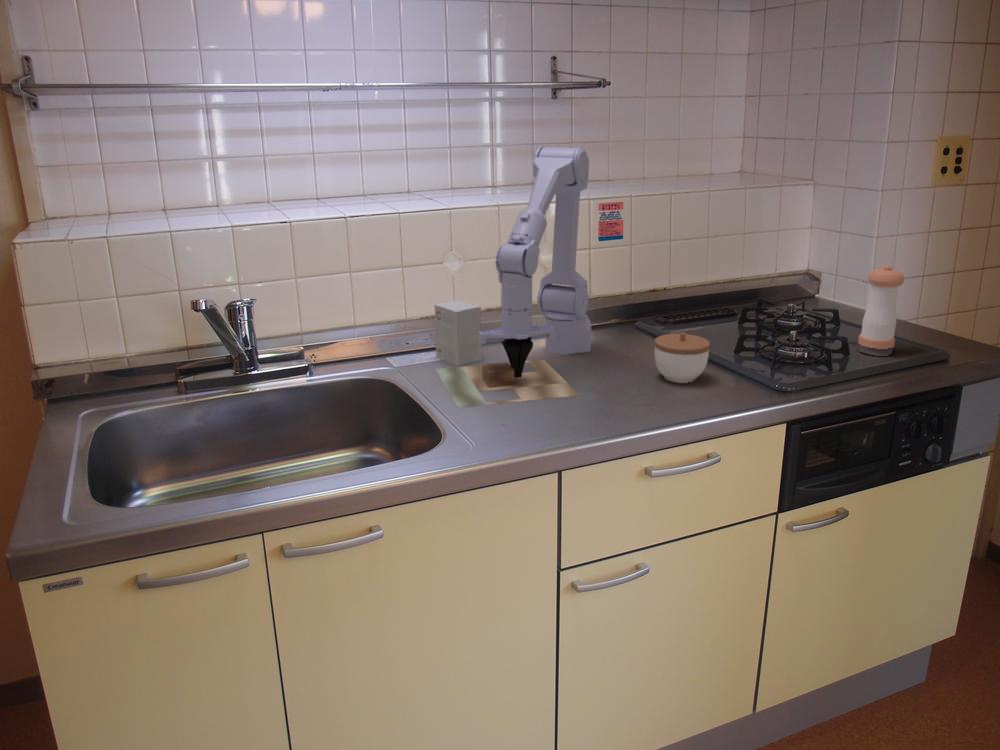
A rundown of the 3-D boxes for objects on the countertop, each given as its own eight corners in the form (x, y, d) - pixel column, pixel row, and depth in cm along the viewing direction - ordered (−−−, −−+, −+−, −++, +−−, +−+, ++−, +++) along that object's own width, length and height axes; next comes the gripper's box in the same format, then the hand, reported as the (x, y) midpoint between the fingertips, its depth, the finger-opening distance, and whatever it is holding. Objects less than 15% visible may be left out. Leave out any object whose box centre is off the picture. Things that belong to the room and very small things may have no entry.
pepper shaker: (898, 357, 176) (913, 269, 169) (864, 357, 176) (878, 269, 169) (884, 347, 183) (897, 262, 176) (851, 347, 183) (863, 262, 176)
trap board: (543, 366, 171) (543, 359, 170) (579, 402, 151) (580, 395, 150) (435, 376, 165) (434, 369, 165) (458, 415, 145) (458, 407, 145)
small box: (482, 366, 171) (481, 306, 167) (458, 373, 167) (456, 311, 163) (459, 357, 177) (458, 299, 172) (435, 363, 173) (433, 304, 169)
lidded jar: (717, 377, 164) (721, 332, 161) (689, 391, 156) (692, 344, 153) (670, 366, 171) (673, 322, 168) (642, 378, 163) (644, 333, 160)
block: (507, 376, 160) (507, 362, 159) (514, 385, 156) (514, 370, 155) (482, 379, 159) (482, 364, 158) (488, 387, 154) (488, 372, 153)
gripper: (484, 315, 148) (485, 386, 152) (560, 309, 152) (559, 378, 156) (475, 306, 154) (476, 374, 159) (548, 301, 158) (547, 367, 162)
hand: (516, 375), depth 158 cm, fingers closed
